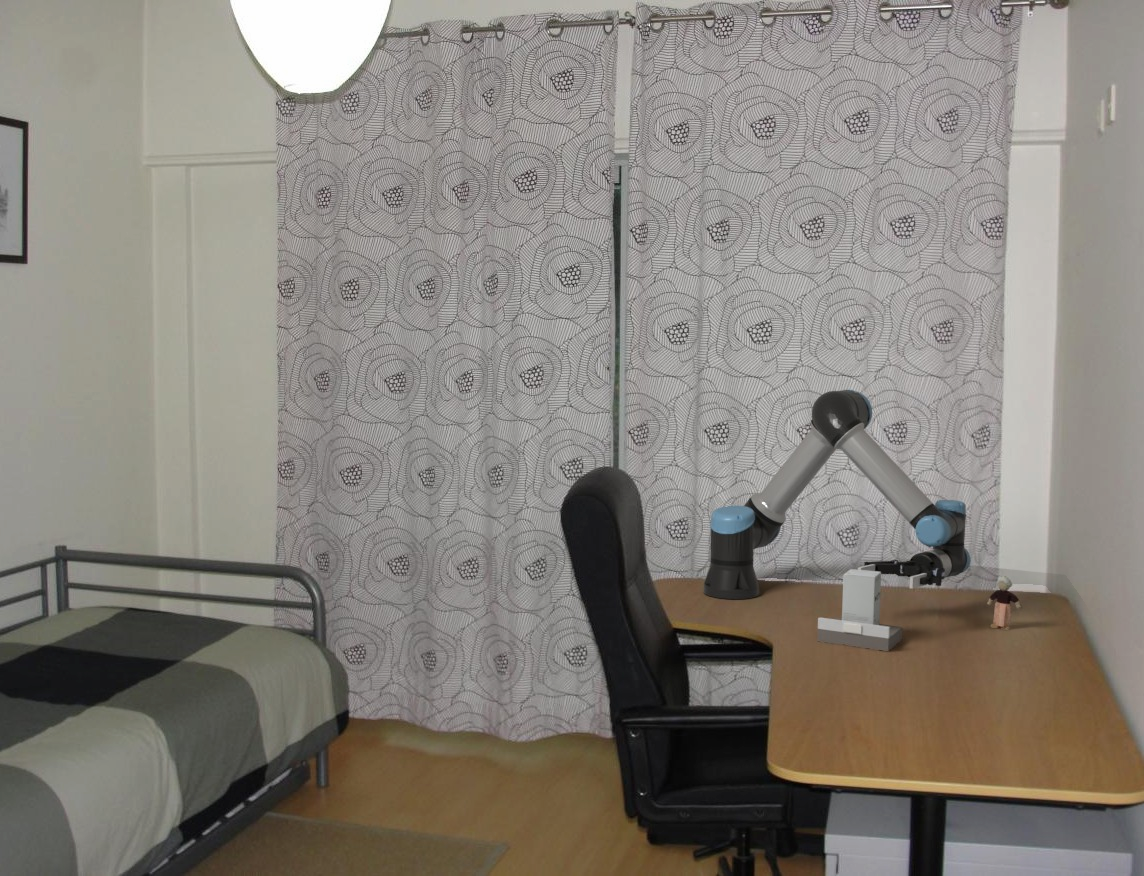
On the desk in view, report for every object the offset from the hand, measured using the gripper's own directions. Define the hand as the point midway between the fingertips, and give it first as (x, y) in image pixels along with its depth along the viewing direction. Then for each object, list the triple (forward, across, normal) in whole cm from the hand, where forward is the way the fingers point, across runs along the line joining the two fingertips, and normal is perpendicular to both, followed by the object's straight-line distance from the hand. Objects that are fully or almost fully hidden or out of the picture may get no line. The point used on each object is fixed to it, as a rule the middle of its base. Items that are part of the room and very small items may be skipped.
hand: (884, 577), depth 256 cm
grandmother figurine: (-24, -18, -13) cm, 33 cm away
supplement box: (+10, 0, -10) cm, 14 cm away
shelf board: (+11, -1, -13) cm, 17 cm away
